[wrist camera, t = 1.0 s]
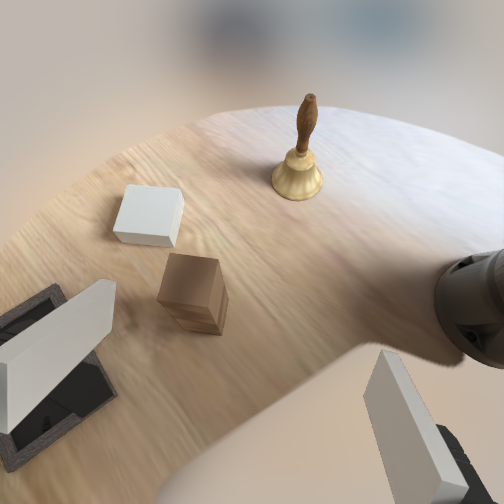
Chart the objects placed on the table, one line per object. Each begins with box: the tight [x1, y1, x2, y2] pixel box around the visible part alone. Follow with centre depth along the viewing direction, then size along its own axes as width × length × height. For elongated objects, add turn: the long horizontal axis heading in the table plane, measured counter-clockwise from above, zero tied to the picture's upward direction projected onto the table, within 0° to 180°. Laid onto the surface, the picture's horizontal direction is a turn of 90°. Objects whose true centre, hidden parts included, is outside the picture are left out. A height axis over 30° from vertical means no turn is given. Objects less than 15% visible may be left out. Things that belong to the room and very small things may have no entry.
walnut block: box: [157, 253, 229, 335], centre depth 39 cm, size 5×5×14 cm
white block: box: [113, 184, 185, 248], centre depth 50 cm, size 8×8×4 cm
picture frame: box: [0, 283, 118, 473], centre depth 43 cm, size 13×2×18 cm
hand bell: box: [272, 94, 323, 201], centre depth 48 cm, size 8×8×16 cm
